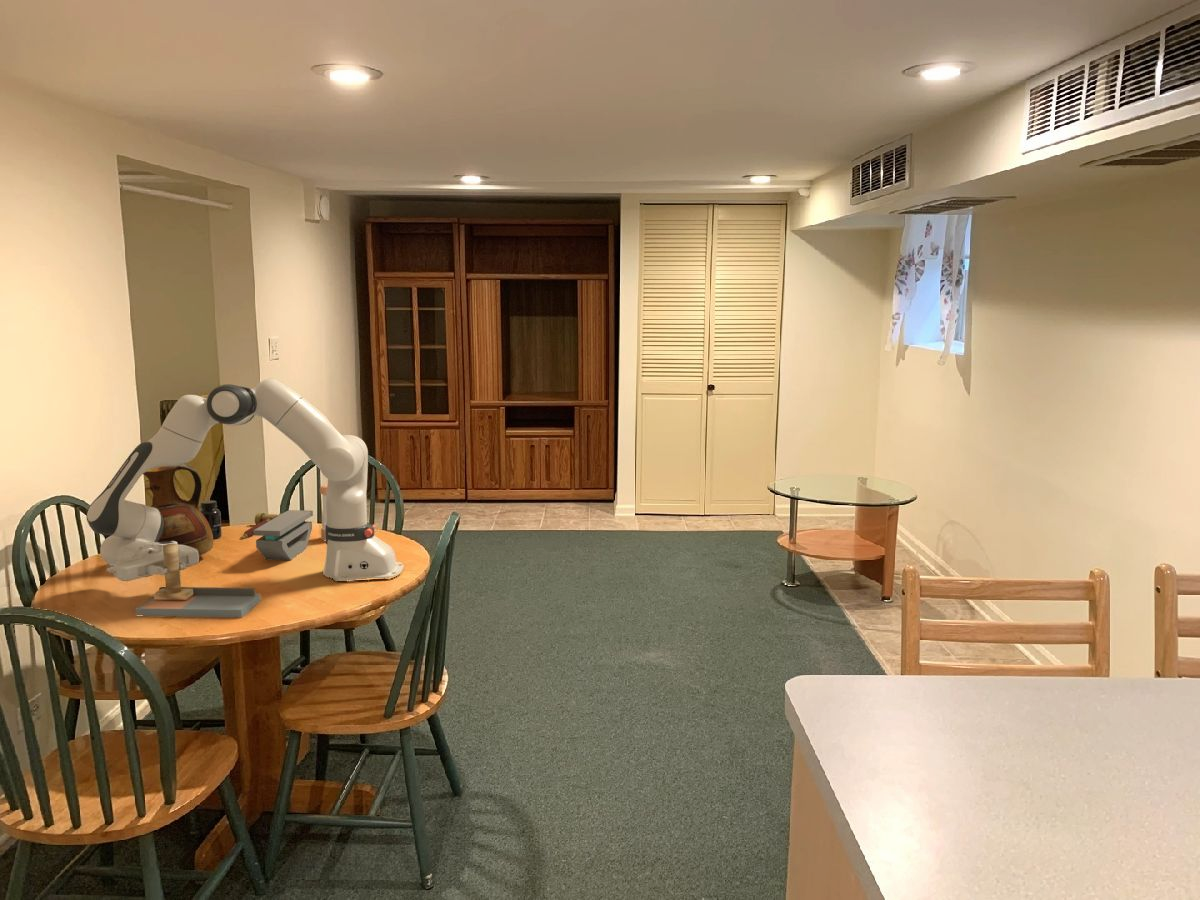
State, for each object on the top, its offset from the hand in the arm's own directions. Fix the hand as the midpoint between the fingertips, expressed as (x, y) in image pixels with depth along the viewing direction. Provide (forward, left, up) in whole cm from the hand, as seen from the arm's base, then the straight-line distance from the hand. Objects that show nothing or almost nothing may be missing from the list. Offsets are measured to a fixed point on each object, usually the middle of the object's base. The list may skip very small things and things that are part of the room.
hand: (174, 569), depth 221 cm
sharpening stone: (-11, -47, -10) cm, 49 cm away
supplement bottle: (+20, -65, -10) cm, 69 cm away
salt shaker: (-20, -65, -10) cm, 69 cm away
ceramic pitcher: (+19, -40, -10) cm, 45 cm away
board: (-6, +1, -10) cm, 12 cm away
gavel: (+7, -74, -11) cm, 75 cm away
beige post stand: (+1, -1, -7) cm, 8 cm away
